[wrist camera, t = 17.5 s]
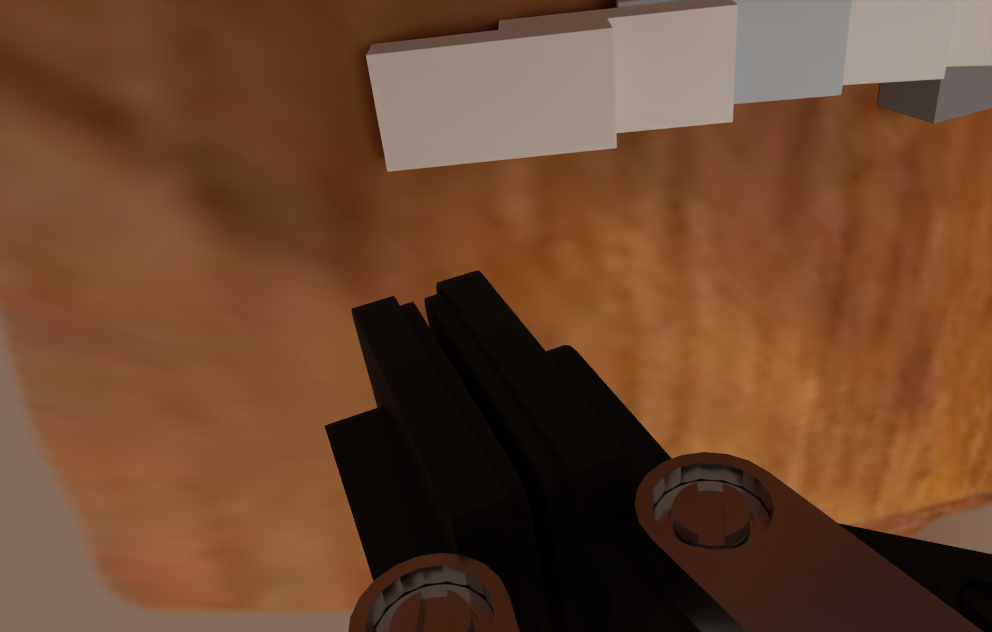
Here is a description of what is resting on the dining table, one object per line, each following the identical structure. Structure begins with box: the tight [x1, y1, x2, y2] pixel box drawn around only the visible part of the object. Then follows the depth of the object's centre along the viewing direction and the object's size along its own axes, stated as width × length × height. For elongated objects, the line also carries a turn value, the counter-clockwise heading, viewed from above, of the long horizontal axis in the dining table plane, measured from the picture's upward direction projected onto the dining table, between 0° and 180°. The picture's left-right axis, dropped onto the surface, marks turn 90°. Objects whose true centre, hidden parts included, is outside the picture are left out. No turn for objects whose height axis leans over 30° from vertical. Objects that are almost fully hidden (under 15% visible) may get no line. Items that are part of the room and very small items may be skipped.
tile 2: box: [498, 0, 738, 133], centre depth 36 cm, size 2×5×10 cm
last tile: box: [946, 0, 992, 67], centre depth 40 cm, size 2×5×10 cm
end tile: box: [366, 18, 617, 172], centre depth 35 cm, size 2×5×10 cm
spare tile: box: [616, 0, 852, 104], centre depth 38 cm, size 2×5×10 cm
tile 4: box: [842, 0, 957, 85], centre depth 39 cm, size 2×5×10 cm
